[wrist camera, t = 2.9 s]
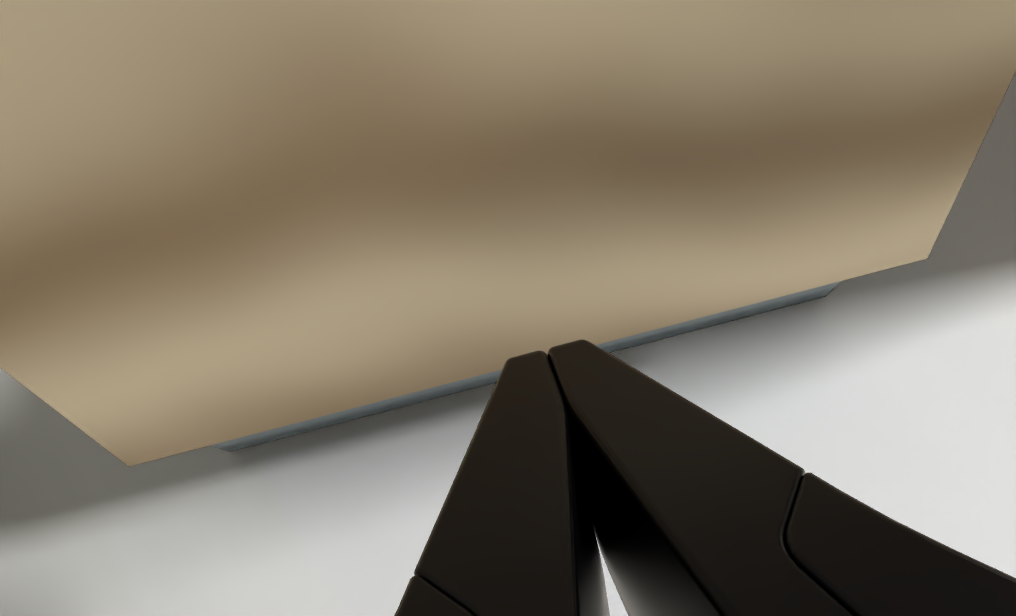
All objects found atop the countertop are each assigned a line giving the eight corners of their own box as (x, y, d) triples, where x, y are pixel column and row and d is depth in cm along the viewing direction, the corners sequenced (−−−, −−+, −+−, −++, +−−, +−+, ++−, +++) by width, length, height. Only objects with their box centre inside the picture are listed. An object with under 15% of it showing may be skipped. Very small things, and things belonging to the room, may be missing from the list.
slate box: (825, 296, 23) (896, 227, 18) (229, 451, 22) (139, 424, 18) (707, -20, 25) (741, -153, 21) (176, 116, 25) (85, 13, 20)
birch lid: (908, 228, 18) (926, 258, 17) (129, 431, 18) (128, 466, 17) (1170, -393, 9) (1221, -364, 9) (-382, -1, 9) (-411, 50, 8)
